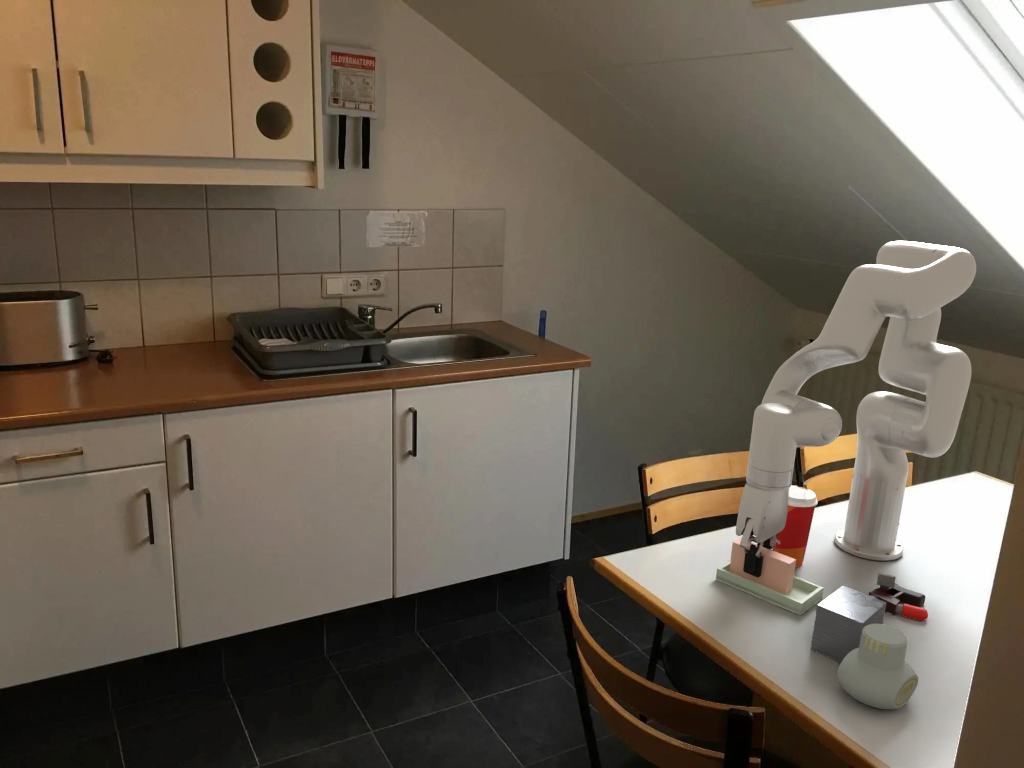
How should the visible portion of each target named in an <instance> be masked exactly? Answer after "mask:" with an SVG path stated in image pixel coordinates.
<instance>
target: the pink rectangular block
mask: <svg viewBox="0 0 1024 768" xmlns="http://www.w3.org/2000/svg"><path fill="white" fill-rule="evenodd" d="M741 539H742V537H741V538H738V539H736V540H735V539H734V540H733V541H732V547H731V555H730V560H729V561H730V569H729V572H731V573H733V574H736V575H738V576H741V577H743V578H746V579H748V580H750V581H753V582H755V583H758V584H760V585H762V586H765V587H767V588H770V589H772V590H775V591H777V592H779V593H782V594H784V595H786V594H788V593H789V592H791V591H792V586H793V579H794V576H795V572H796V571H795V570H796V567H795V565H796V559H793V558H791V557H788V556H785V555H783V554H780V553H778V552H775V551H772V550H773V549H772V550H770V549H767V548H764V547H763V549H762V554H761V556H763V563H762V571H761V576H760V577H755V576H753V575H750V574H748V573H745V572H744V571H743V567H744V559H745V552H744V548H742V547H740V542H741ZM751 544H754V545H755V546H756V547H757V543H755V542H751Z"/></svg>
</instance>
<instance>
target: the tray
mask: <svg viewBox="0 0 1024 768" xmlns="http://www.w3.org/2000/svg"><path fill="white" fill-rule="evenodd" d="M730 561H731V560H729V561H728V562H726V563H723V564H722V565H720V566H719V567H717V568H716V576H715V580H716V581H717V582H721V583H723V584H725V585H728V586H730V587H733V588H735V589H737V590H740V591H742V592H744V593H747V594H748V595H751V596H753V597H756V598H759V599H761V600H763V601H765V602H768V603H770V604H773V605H775V606H777V607H779V608H781V609H784V610H785V611H789V612H792V613H794V614H796V615H798V616H801V615H803V614H804V613H805V612H807V611H808V610H810V609H811V608H812V607H813V606H814V605H815V606H816V604H818V602H819V603H820V602H821V601H822V599H823V595H824V586H821V585H819V584H816V583H814V582H812V581H808V580H806V579H804V578H801V577H798V576H796V575H794V579H793V586H792V591H791V592H789V593H788V594H786V595H784V594H782V593H779V592H777V591H775V590H772V589H770V588H767V587H765V586H762V585H760V584H758V583H755V582H753V581H750V580H748V579H746V578H743V577H741V576H738V575H736V574H733V573H731V572H729V569H730Z"/></svg>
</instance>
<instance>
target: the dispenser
mask: <svg viewBox="0 0 1024 768" xmlns="http://www.w3.org/2000/svg"><path fill="white" fill-rule="evenodd" d="M886 603H887V602H884V601H881V600H879V599H876V598H874V597H871V596H868V594H866V593H864V592H861V591H857V590H855V589H852V588H850V587H848V586H845V585H841V586H840V587H838V588H837V589H836V590H834V591H833V592H832V593H831V594H830V595H828V596H827V597H826V598H825V599H823V600H821V601H819V603H817V606H816V612H815V618H814V625H813V631H812V637H811V644H810V651H812V652H815V653H817V654H818V655H819V654H820V655H821V656H824V657H826V658H828V659H831V660H833V661H835V662H837V663H838V664H839V663H840V664H841V662H842V661H843V659H844V658H845V657H846V656H847V654H848V653H850V652H851V651H852V650H854V649H856V648H859V646H860V640H861V635H862V629H863V628H864V627H865V626H867V625H869V624H884V620H885V613H886V612H885V609H886Z"/></svg>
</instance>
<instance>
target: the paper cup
mask: <svg viewBox="0 0 1024 768" xmlns="http://www.w3.org/2000/svg"><path fill="white" fill-rule="evenodd" d="M817 505H818V499H817V495H816V493H815V492H814V491H813V490H812V489H807V488H806V487H802V486H798V485H792V484H791V487H790V488H789V501H788V512H787V519H786V524H785V527H784V529H783V530H782V531H780V532H779V533H778V535H777V538H776V545H775V548H774V549H772V550H774V551H775V552H778V553H780V554H783V555H785V556H788V557H791V558H793V559H796V565H795V568H799V567H800V566H801V567H802V565H803V562H804V558H805V555H806V551H807V547H808V541H809V536H810V531H811V529H812V528H811V527H812V523H813V518H814V513H815V507H816V506H817Z"/></svg>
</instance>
